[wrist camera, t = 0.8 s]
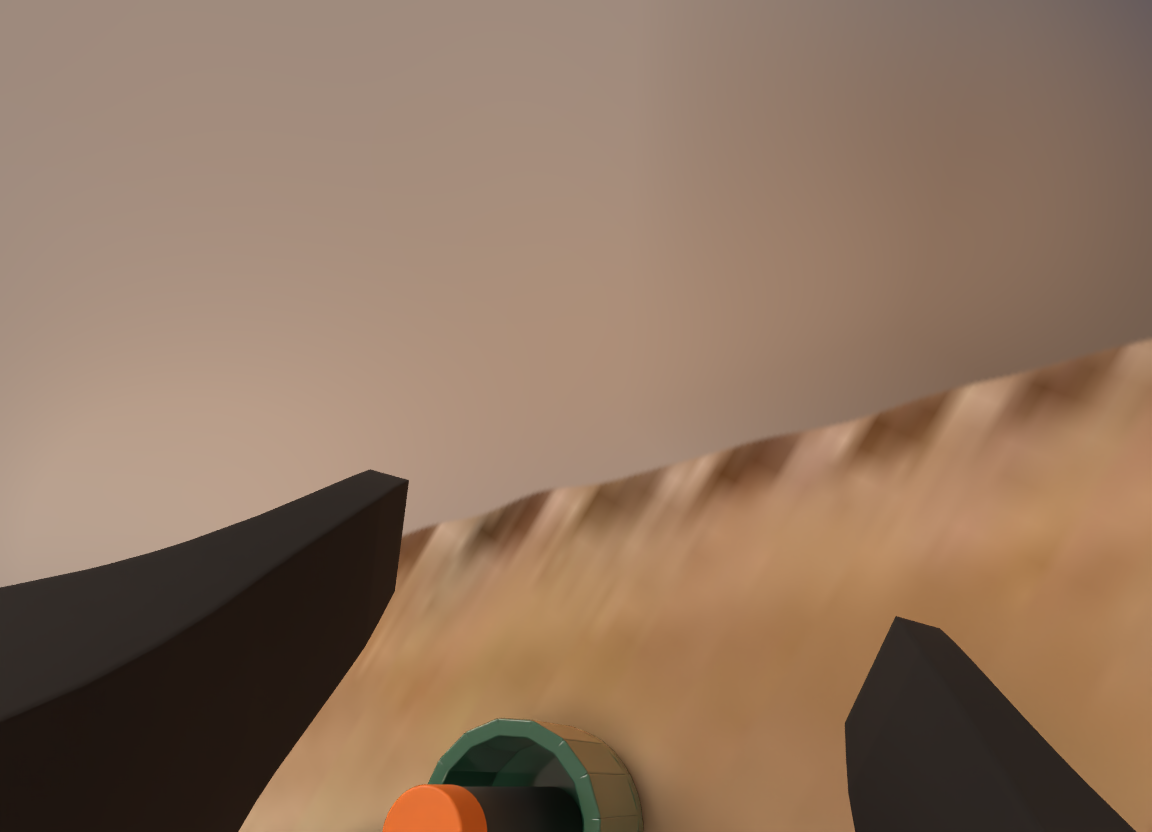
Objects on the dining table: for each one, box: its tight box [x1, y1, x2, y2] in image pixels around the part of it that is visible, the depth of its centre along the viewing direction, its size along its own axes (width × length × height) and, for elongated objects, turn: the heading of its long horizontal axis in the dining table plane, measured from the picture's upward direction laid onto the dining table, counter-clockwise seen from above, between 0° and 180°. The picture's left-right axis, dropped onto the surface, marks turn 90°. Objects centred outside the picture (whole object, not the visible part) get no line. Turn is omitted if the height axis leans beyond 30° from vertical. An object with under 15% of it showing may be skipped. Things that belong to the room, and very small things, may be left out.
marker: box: [382, 784, 582, 832], centre depth 21 cm, size 2×2×7 cm
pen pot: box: [428, 718, 643, 832], centre depth 22 cm, size 6×6×4 cm
